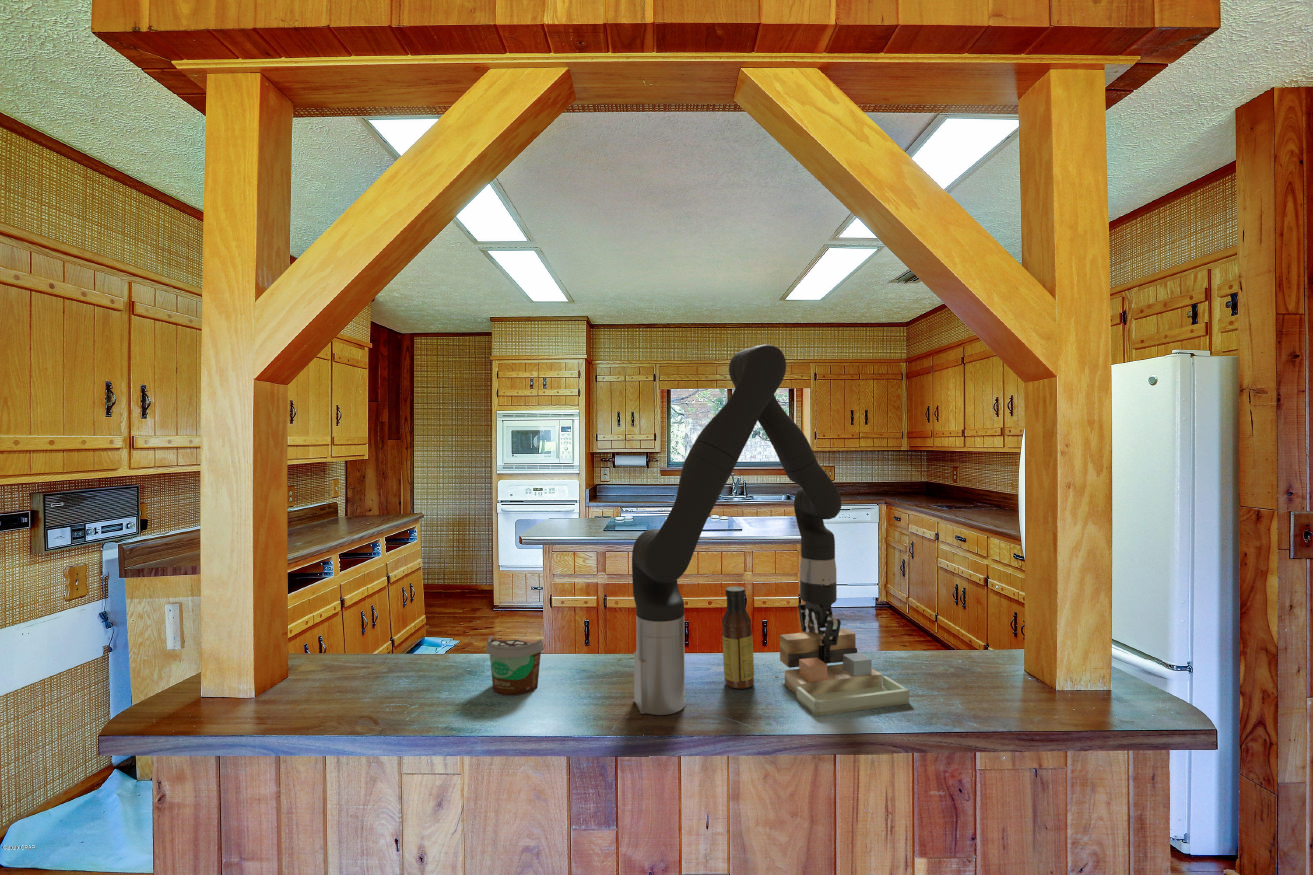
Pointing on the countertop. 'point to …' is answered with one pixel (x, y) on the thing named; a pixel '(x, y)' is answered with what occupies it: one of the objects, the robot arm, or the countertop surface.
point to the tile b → (857, 664)
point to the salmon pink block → (813, 669)
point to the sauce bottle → (737, 641)
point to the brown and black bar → (814, 647)
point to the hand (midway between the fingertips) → (818, 658)
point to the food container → (514, 665)
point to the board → (832, 681)
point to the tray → (854, 698)
